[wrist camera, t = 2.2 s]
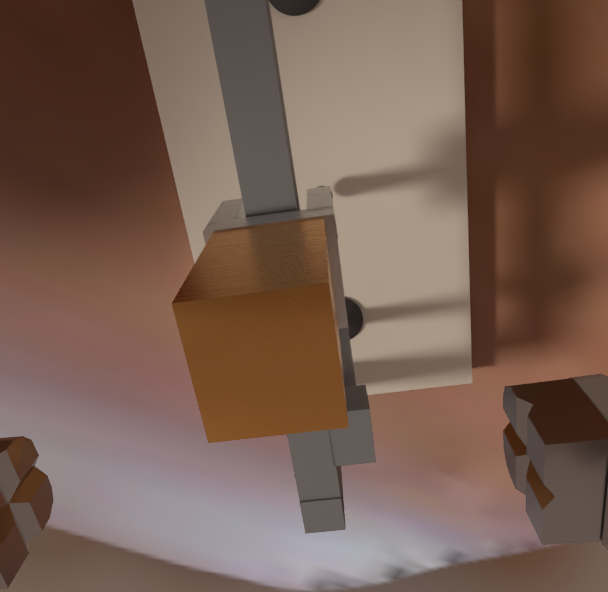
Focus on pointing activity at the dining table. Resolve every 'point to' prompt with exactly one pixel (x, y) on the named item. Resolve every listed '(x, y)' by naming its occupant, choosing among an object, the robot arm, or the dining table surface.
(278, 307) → the leg
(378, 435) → the dining table surface
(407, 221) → the hole plate
